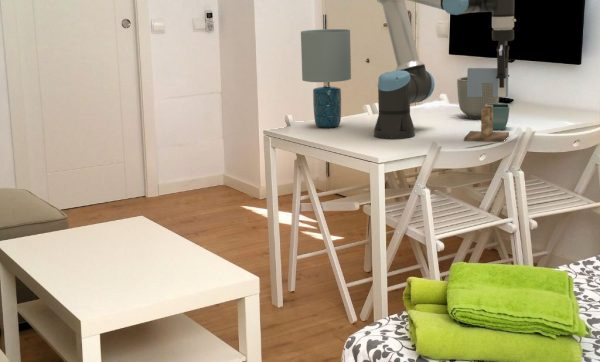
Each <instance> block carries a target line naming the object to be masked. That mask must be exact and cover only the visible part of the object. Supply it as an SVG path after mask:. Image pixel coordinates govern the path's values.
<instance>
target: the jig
mask: <svg viewBox="0 0 600 362" xmlns="http://www.w3.org/2000/svg"><path fill="white" fill-rule="evenodd" d="M480 122H481V123H480V124H481V125H480V129H481V130H480V131H479V130H478V131H477V130H470V131H469V132H468V133H467V134H466V135H465V136H464V141H465V142H490V143H491V142H492V143H495V142H496V143H502V142H501V141H504V140H505V139H506V138H507V137H508V138H509V135H510V132H509V131H494V130H493V105H486V106H485V108H483V109H482V110H481V119H480ZM508 138H507V139H508ZM507 139H506V140H507ZM506 140H505V141H506Z"/></svg>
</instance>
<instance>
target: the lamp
mask: <svg viewBox="0 0 600 362" xmlns="http://www.w3.org/2000/svg"><path fill="white" fill-rule="evenodd" d="M300 47H301V49H300V51H301V53H300V54H301V77H302V78H301V79H302V81H303V82H307V83H323V86H319V87H315V88H313V89H312V99H313V100H312V101H313V106H312V107H313V117H314V122H315V125H316V126H317V127H318V128H321V129H322V128H323V129H326V128H327V129H331V128H336V127H338V126H339V125H341V119H342V89H341V88H340V87H337V86H331V83H335V82H338V83H339V82H345V81H346V82H347V81H349V80H351V79H352V58H351V57H352V55H351V30H350V29H346V28H345V29H344V28H343V29H341V28H330V29H329V28H325V29H321V28H320V29H309V30H308V29H307V30H301V31H300Z"/></svg>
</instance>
